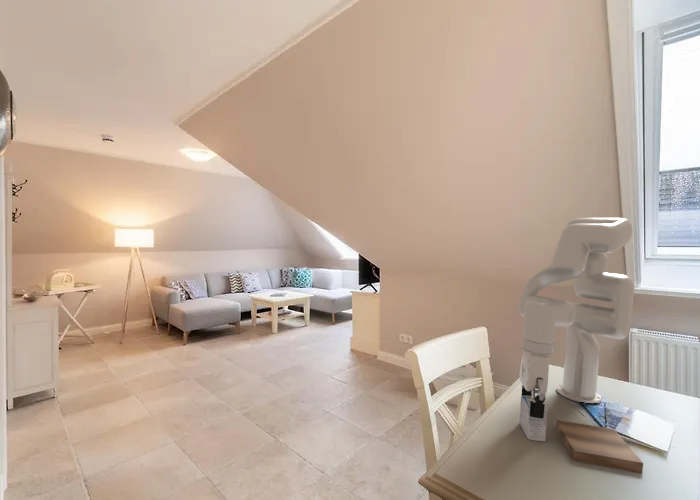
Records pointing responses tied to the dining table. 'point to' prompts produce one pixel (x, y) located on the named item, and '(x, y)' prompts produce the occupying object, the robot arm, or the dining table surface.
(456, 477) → the dining table surface
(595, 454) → the brown wooden block
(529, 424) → the medicine box
